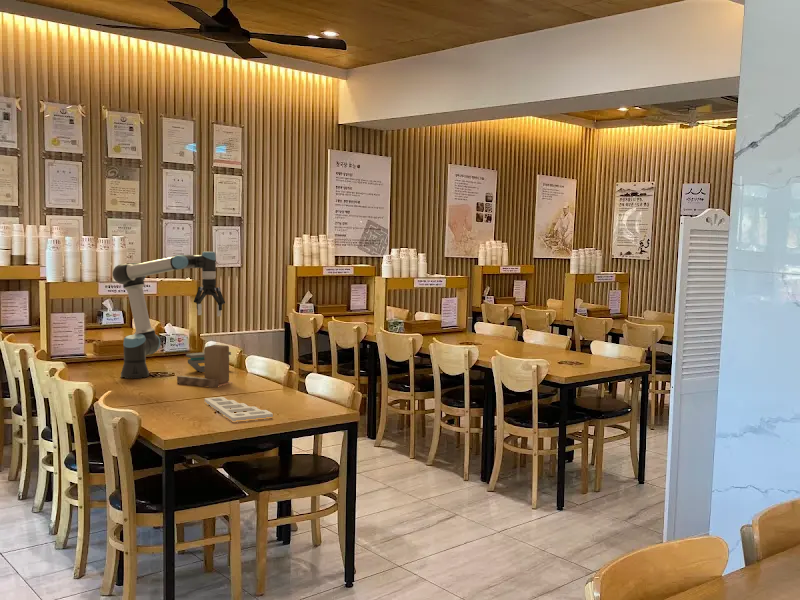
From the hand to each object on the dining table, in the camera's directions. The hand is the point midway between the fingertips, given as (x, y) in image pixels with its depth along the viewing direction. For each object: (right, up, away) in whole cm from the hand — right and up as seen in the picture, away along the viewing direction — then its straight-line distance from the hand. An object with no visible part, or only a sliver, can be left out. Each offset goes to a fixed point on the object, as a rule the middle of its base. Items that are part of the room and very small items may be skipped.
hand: (209, 315), depth 423 cm
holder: (+35, -42, -86) cm, 102 cm away
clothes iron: (-5, -34, +17) cm, 38 cm away
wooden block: (+10, -36, -21) cm, 43 cm away
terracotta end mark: (+9, -37, -22) cm, 44 cm away
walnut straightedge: (+1, -37, -27) cm, 46 cm away
